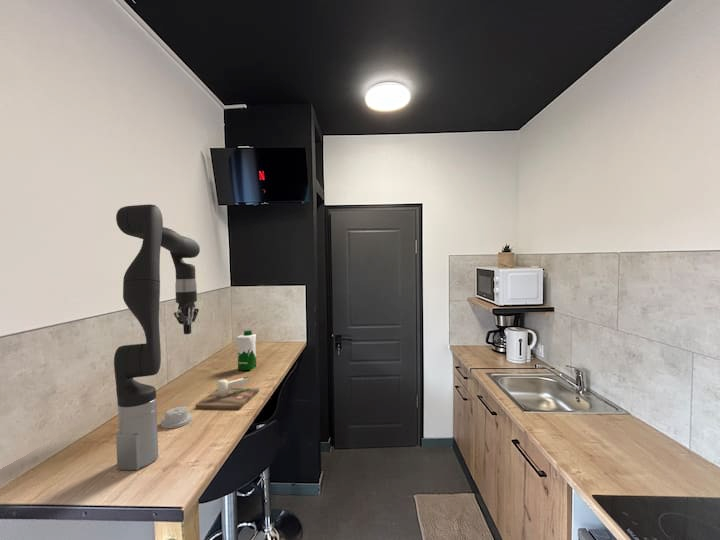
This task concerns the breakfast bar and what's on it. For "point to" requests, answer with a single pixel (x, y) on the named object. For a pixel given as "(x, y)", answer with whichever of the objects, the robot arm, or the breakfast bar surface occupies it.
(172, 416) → the mechanical component
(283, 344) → the breakfast bar surface
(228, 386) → the peg
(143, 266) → the robot arm
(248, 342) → the milk carton
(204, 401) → the board
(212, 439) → the breakfast bar surface
